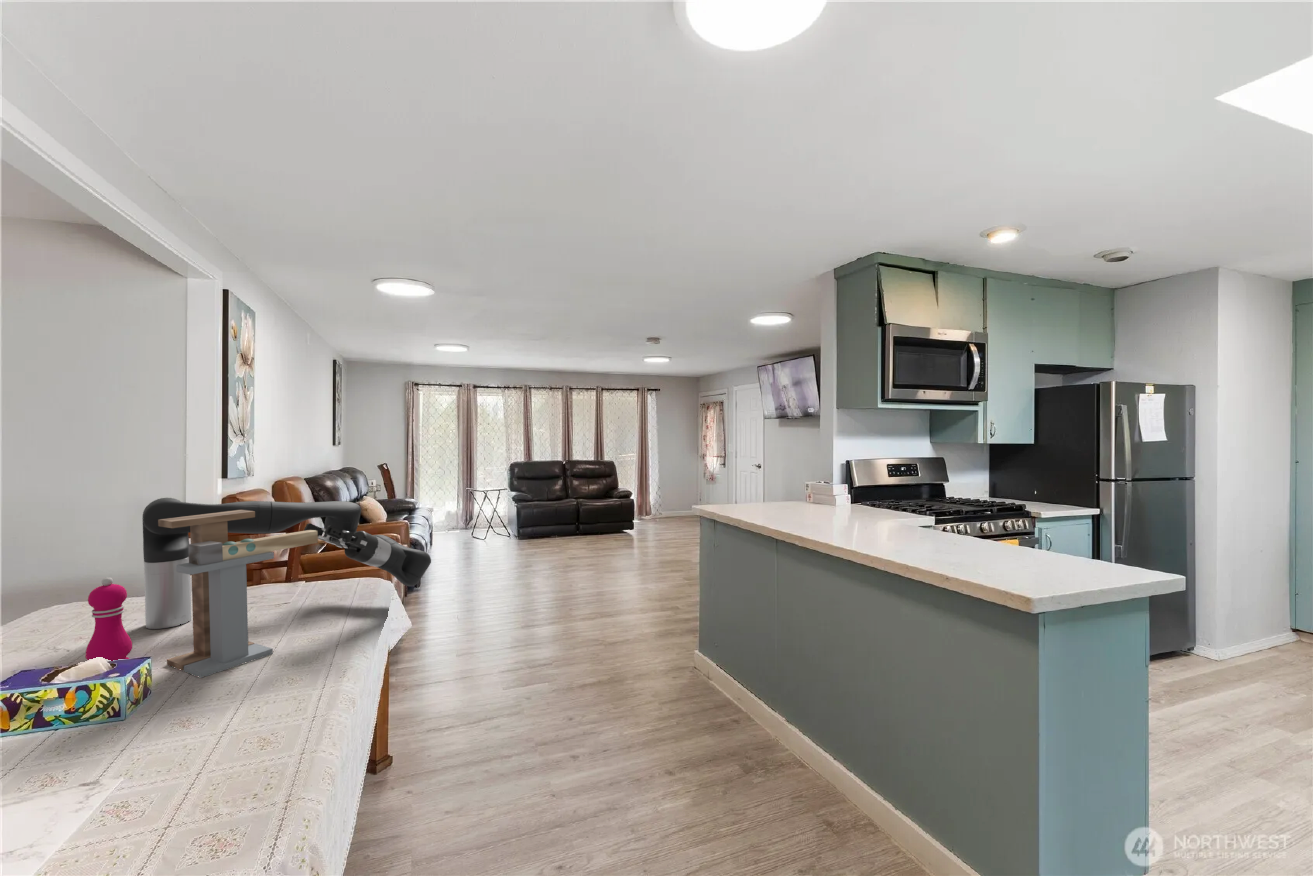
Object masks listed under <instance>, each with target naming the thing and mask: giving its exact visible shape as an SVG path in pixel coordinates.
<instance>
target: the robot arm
mask: <svg viewBox="0 0 1313 876" xmlns="http://www.w3.org/2000/svg"><path fill="white" fill-rule="evenodd" d="M235 510H248V511H255V517H253V518H245V519H238V520H230V521H227V528H228V533H231V534H252V535H253V534H275V533H279V532H282V531H285V530H286V529H289V528H291V527H294V526H296V525H297V524H299V523H302V522H304V521H307V520H311V519H316V518H325V521H324V525H323V527H320V526H317V525H315V524H312V523H308V522H307V524H306V525H305V527H304V528H303V529H304V530H303V531H306V530H315V531H317V533H318V540H321V541H324V542H325V543H327V544H331V545H333V546H334V545H335V547H338V548H341V549H344V555H345V556H346V557H347V558H349V559H350V560H353V561H356V562H358V563H362V564H364V565H367V566H370V567H375V568H378V569H380V570H383V571H386V572H387V573H389V574H391V576H393V578H396V580H398V581H399V582H400V583H401V584H402V585H404V586H406V587H413V586H416V585H417V584H419V582H420V581H421V580H422V578H423V576H424V574H425V573H426V571H427V570H428V568H429V567H430V565H431V564H432V558H431V556H430V554H429V553H427V551H424V550H420V549H415V548H412V547H408V546H405V545H403V544H401V543H400V542H398V541H396V540H395V539H392V538H391V537H389V536H388V535H383V534H371V533H368V532H366V531H364V530H358V531H357V529H358V525H359V523H360V518H361V514H362V507H361V505H359V504H358V503H355V502H352V501H345V500H341V501H340V500H337V501H336V500H335V501H332V500H331V501H314V502H313V501H312V502H310V501H309V502H297V501H296V502H294V501H293V502H292V501H291V502H290V501H289V502H287V501H286V502H285V501H269V500H268V501H266V500H265V501H264V500H262V501H261V500H247V501H236V502H235V501H234V502H228V503H226V502H225V503H218V504H217V503H216V504H215V503H214V504H213V503H212V504H211V503H210V504H207V503H197V502H196V503H194V502H186V501H181V500H180V499H177V498H174V497H173V498H172V497H161V498H157V499H155V500H153V501H151V502H149V503H148V504H147V505H146V507H144V510H143V512H142V540H143V541H142V542H143V543H142V544H143V545H142V548H143V552H142V553H143V572H144V573H143V574H144V604H145V605H144V609H145V611H144V612H145V613H144V617H145V628H146V629H149V630H159V629H167V628H172V627H177V626H181V625H184V624H186V623H189V622H190V621H191V620H192V581H191V575H189V574H185V573H180V572H176V565H179V564H184V563H189V547H188V544H190V537H189V536H190V535H189V534H190V526H185V527H178V528H167V527H160V526H158V520H160V519H168V518H177V517H185V516H193V515H202V514H210V513H218V512H227V511H235ZM188 621H189V622H188ZM180 624H181V625H180Z"/></svg>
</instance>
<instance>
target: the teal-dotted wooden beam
mask: <svg viewBox="0 0 1313 876" xmlns="http://www.w3.org/2000/svg"><path fill="white" fill-rule="evenodd" d="M318 541H319V539H318V533H317V531H315V530H306V531H304V530H301V531H294V532H290V533H284V534H282V533H281V534H277V535H271V536H265V537H257V538H244V539H242V540H240V541H236V542H235V541H232V540H231V541H228V542H226V543H224V544H222V543H220V542H214V541H206V542H200V543H194V544H191V543H189V544H188V547H189V563H191V564H196V565H200V566H201V565H207V564H212V563H217V562H223V560H228V559H234V558H239V557H244V556H250V555H255V554H261V553H266V552H275V551H281V550H285V549H286V550H287V549H293V548H297V547H303V546H308V545H313V544H318Z"/></svg>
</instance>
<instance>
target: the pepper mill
mask: <svg viewBox="0 0 1313 876" xmlns="http://www.w3.org/2000/svg"><path fill="white" fill-rule="evenodd" d="M87 597H88V598H87V603H88V605H89V606H91V608H93V609H92V610H91V613H92V614H91V618H94V630H93V634H92V635H91V638H90V640H89V641H88V644H87V646H86V650H85V660H86V661H88V660H89V659H93V658H96V657H103V658H105V659H108V660H111V661H113V660H118V659H130V660H131V658H130V657H129V656H128V655H129V654H130V653H131V652H132V650H133V641H132V638H131V637H130V636H129V634H128V632H127V631H126V630H125V627H124V625H123V619H122V616H123V613H124V612H125V609H124V608H125V605H124V604H123V603H124V602H125V601H126V599H127V597H128V592H127V589H126V588H125V587H124V586H123V585H120V584H117V583H114V579H113V578H112V577H105V578H103V579H102V580H101V585H100V586H99V585H98V587H95V588H94V589H92V590H91V592H90V593H89V595H88V596H87Z"/></svg>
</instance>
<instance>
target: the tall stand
mask: <svg viewBox="0 0 1313 876" xmlns="http://www.w3.org/2000/svg"><path fill="white" fill-rule="evenodd" d="M253 517H255V511H248V510H235V511H227V512H218V513H210V514H202V515H193V516H185V517H177V518H168V519H160V520H158V526H160V527H167V528H178V527H185V526H190V533H189V534H190V535H189V536H190V537H189V538H190V544H194V543H200V542H206V541H214V542H220V543H222V544H224V543H226V542H229V541H228V540H229V537H228V536H229V535H228V528H227V521H230V520H238V519H245V518H253ZM191 612H192V636H193V638H192V639H193V640H192V641H193V642H192V643H193V647H192V648H193V651H190V652H186V653H184V654H180V655H177V656H173V657H171V658H167V659H166V665H167V666H169V667H171V666H173V667H172V668H174V667H175V669H176V668H177V669H176V670H179V669H181V670H184V666H185V665H188V664H191V663H195V662H198V661H201V660H204V659H207V658H211V649H210V612H209V574H208V572H203V573H197V574H192V575H191ZM252 644H255V642H252V641H249V640H248V646H249V645H252ZM181 670H180V671H181Z"/></svg>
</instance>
